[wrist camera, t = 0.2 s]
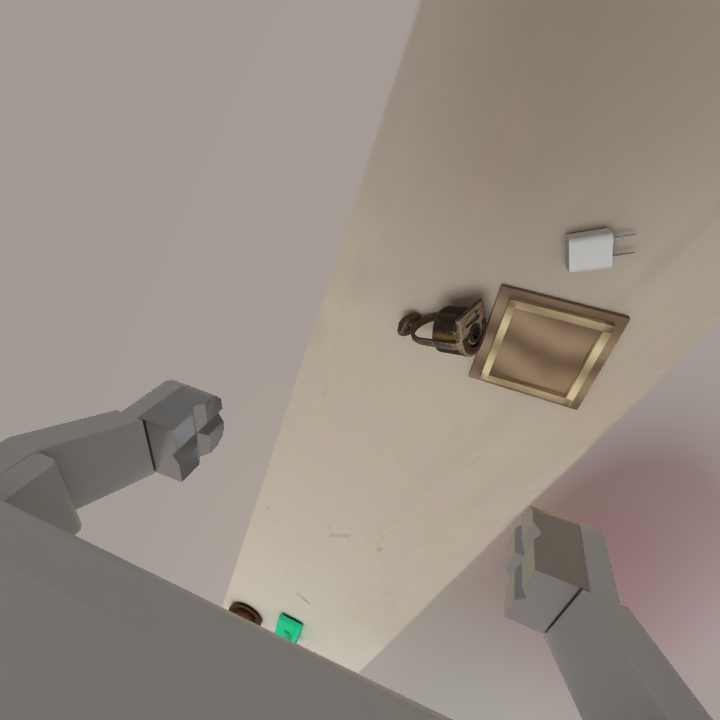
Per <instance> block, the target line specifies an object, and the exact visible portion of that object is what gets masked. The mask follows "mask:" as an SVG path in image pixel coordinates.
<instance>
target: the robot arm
mask: <svg viewBox="0 0 720 720" xmlns="http://www.w3.org/2000/svg"><path fill="white" fill-rule="evenodd" d="M221 409H222V403H221V399H220V398H218V397H217V396H215V395H212V394H209V393H207V392H204V391H202V390H199V389H196V388H194V387H191V386H189V385H185V384H182V383H180V382H177V381H175V380H168V381H165V382H164V383H162V384H161V385H159V386H158V387H157V388H155V389H154V390H152V391H151V392H149V393H148V394H146V395H145V396H144V397H142V398H141V399H139V400H138V401H136V402H135V403H134V404H132V405H131V406H129V407H128V408H126V409H125V410H123V411H122V412H120V411H117V410H115V411H112V412H108V413H104V414H100V415H96V416H92V417H88V418H84V419H80V420H76V421H72V422H68V423H64V424H60V425H56V426H52V427H48V428H44V429H41V430H37V431H32V432H28V433H24V434H21V435H16V436H12V437H9V438H7V439H5V440H4V441H2V442H1V443H0V720H452V719H450V718H447V717H446V716H443V715H442V714H440V713H437V712H435V711H433V710H431V709H429V708H427V707H425V706H423V705H421V704H419V703H417V702H415V701H413V700H411V699H409V698H406V697H405V696H403V695H401V694H399V693H396V692H394V691H392V690H390V689H388V688H386V687H384V686H382V685H380V684H378V683H376V682H374V681H372V680H370V679H368V678H366V677H364V676H361V675H360V674H358V673H356V672H353V671H351V670H349V669H347V668H345V667H343V666H341V665H339V664H337V663H335V662H333V661H331V660H329V659H327V658H325V657H323V656H321V655H319V654H317V653H315V652H312V651H310V650H308V649H306V648H304V647H302V646H300V645H298V644H296V643H294V642H292V641H290V640H288V639H286V638H284V637H282V636H280V635H278V634H276V633H274V632H271V631H269V630H267V629H265V628H263V627H261V626H259V625H257V624H255V623H253V622H251V621H249V620H247V619H245V618H243V617H241V616H239V615H237V614H235V613H233V612H231V611H228V610H226V609H224V608H222V607H220V606H218V605H216V604H214V603H212V602H210V601H208V600H206V599H204V598H202V597H200V596H198V595H196V594H193V593H192V592H190V591H187V590H185V589H183V588H181V587H179V586H177V585H175V584H173V583H171V582H169V581H167V580H165V579H163V578H161V577H159V576H157V575H155V574H153V573H150V572H148V571H146V570H144V569H142V568H140V567H138V566H136V565H134V564H132V563H130V562H128V561H126V560H124V559H122V558H120V557H118V556H115V555H114V554H112V553H109V552H107V551H105V550H103V549H101V548H99V547H97V546H95V545H93V544H91V543H89V542H87V541H85V540H83V539H81V538H79V537H77V536H75V534H76V533H77V532H78V531H80V530H81V521H80V519H79V517H78V514H77V512H76V509H78V508H81V507H83V506H85V505H87V504H89V503H91V502H93V501H96V500H98V499H100V498H102V497H104V496H106V495H109V494H111V493H113V492H115V491H117V490H119V489H122V488H124V487H126V486H128V485H130V484H132V483H134V482H137V481H139V480H141V479H143V478H145V477H147V476H150V475H152V474H154V473H155V472H158V473H160V474H163V475H165V476H168V477H171V478H173V479H176V480H178V481H181V482H182V481H183V480H184V479H185V478H186V477H187V476H188V475H189V474H190V473H191V472H192V471H193V470H194V469H195V468H196V467H197V466H198V465H199V462H200V456H203V455H206V454H208V453H211V452H212V450H213V449H214V448H215V447H216V446H217V445H218V443H219V441H220V439H221V437H222V435H223V430H224V423H223V420H222V418H221V417H220V415H219V413H218V412H219V411H220V410H221ZM154 471H155V472H154ZM505 567H506V570H507V571H508V573H509V575H510V579H509V581H508V582H507V584H506V585H505V603H504V616H505V617H507V618H510V619H512V620H514V621H516V622H519V623H521V624H523V625H525V626H528V627H530V628H532V629H534V630H537V631H539V632H541V633H543V634H545V635H544V637H545V639H546V642H547V644H548V646H549V648H550V650H551V652H552V654H553V657H554V659H555V661H556V663H557V665H558V668H559V670H560V672H561V674H562V676H563V678H564V680H565V683H566V685H567V687H568V689H569V691H570V693H571V696H572V698H573V700H574V702H575V704H576V706H577V709H578V711H579V713H580V715H581V717H582V719H583V720H713V719H712V718H711V717H710V715H709V714H708V713H707V711H706V710H705V709H704V707H703V706H702V705H701V704H700V702H699V701H698V699H697V698H696V697H695V696H694V694H693V693H692V692H691V690H690V689H689V688H688V686H687V685H686V684H685V682H684V681H683V680H682V678H681V677H680V676H679V674H678V673H677V672H676V670H675V669H674V668H673V666H672V665H671V664H670V662H669V661H668V660H667V658H666V657H665V656H664V655H663V653H662V652H661V651H660V649H659V648H658V646H657V645H656V644H655V642H654V641H653V640H652V638H651V637H650V636H649V635H648V633H647V632H646V631H645V629H644V628H643V627H642V625H641V624H640V623H639V621H638V620H637V619H636V617H635V616H634V615H633V613H632V612H631V611H630V609H629V608H628V607H626V606H624V605H621V604H620V602H619V598H618V593H617V589H616V584H615V580H614V575H613V571H612V566H611V562H610V557H609V553H608V548H607V544H606V539H605V536H604V533H603V532H602V531H601V530H599V529H596V528H593V527H591V526H588V525H585V524H582V523H579V522H575V521H573V520H570V519H567V518H564V517H561V516H558V515H555V514H553V513H550V512H547V511H543V510H541V509H538V508H534V507H532V506H528V507H527V508H526V509H525V511H524V513H523V514H522V525H521V526H518V527H515V529H514V531H513V533H512V535H511V537H510V540H509V543H508V547H507V553H506V566H505Z"/></svg>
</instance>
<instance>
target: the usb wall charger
mask: <svg viewBox="0 0 720 720" xmlns="http://www.w3.org/2000/svg"><path fill="white" fill-rule="evenodd" d="M635 236H637V234H630V235H623V236H616V237H613V233H612V232H611V231H610V230H609V229H608V228H604V229H597V230H591V231H585V232H578V233H572V234H566V267H567V270H568V273H572V272H581V271H589V270H597V269H605V268H612V259H613V257H620V256H628V255H635V254H636V253H635V252H628V253H620V254H613V240H615V239H622V238H629V237H635Z"/></svg>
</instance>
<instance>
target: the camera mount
mask: <svg viewBox="0 0 720 720" xmlns="http://www.w3.org/2000/svg"><path fill="white" fill-rule="evenodd" d="M301 629H302V625H301V624H299V623H297V622H296V621H294V620H292V619H290V618H288V617H286V616H284V615H280V617H279V619H278V622H277V626H276V630H275V633H276V634H278V635H280V636H282V637H284V638H286V639H288V640H290V641H292V642H294V643H297V641H298V638H299V635H300V632H301Z"/></svg>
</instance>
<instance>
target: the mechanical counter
mask: <svg viewBox="0 0 720 720" xmlns="http://www.w3.org/2000/svg"><path fill="white" fill-rule="evenodd" d="M431 321H434V324H433V333H432V338H433V339H427V338H420V337H417V336H416V335H415V332H416V330H417V329H418V328H420V327H421V326H423V325H424V324H426V323H429V322H431ZM397 331H398V334H399V335H401V336H407V335H409V334H411V337H412V339H413V340H414V341H415V342H416V343H419V344H421V345H426V346H432V347H436V349H437V350H438V351H440V352H445V353H451V354H457V355H462V356H466V357H471V356H473V355H475V354H476V353H477V352H478V351H479V349H480V348H481V346H482V343H483V340H484V337H485V333H486V318H485V316H484V312H483V304H482V300H481V299H479V300H478V301H477V302H476V303H474V304H473V305H472V306H471V307H470V308H465V307H454V306H447V307H444V308H443V309H441V310H440V311H439V312H438V313H437V314H432V315H429V316H426V317H423V318H422V319H421V316H420V315H418V314H410V315H407V316H405V317H403V318H402V319H401V321H400V322H399V325H398V330H397Z"/></svg>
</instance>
